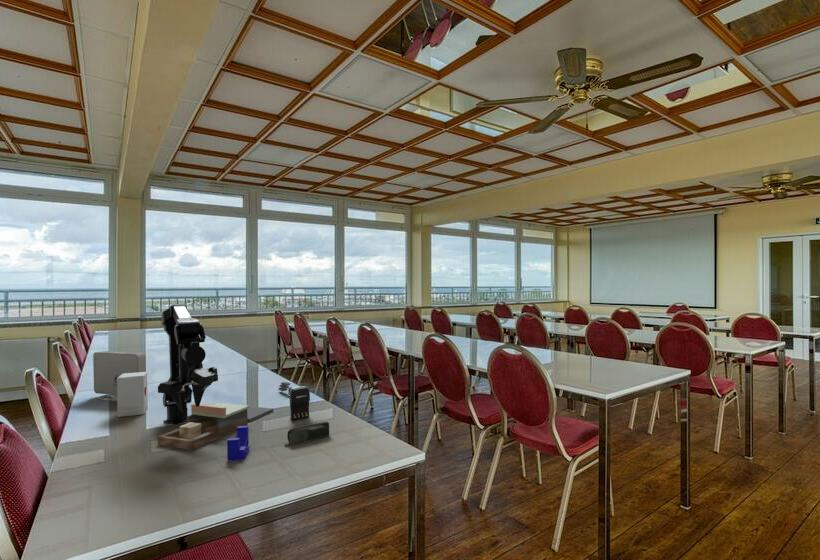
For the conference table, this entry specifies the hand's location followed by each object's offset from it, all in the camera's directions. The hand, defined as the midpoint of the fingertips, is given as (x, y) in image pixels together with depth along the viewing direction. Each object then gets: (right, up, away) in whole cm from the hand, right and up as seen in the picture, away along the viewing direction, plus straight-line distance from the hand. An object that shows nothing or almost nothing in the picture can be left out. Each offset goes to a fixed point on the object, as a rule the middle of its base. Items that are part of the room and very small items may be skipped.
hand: (190, 409), depth 142 cm
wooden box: (+2, -10, +6) cm, 12 cm away
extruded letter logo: (+19, -10, +50) cm, 55 cm away
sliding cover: (+5, -4, +12) cm, 14 cm away
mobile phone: (+38, -10, -2) cm, 39 cm away
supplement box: (-37, -11, +31) cm, 50 cm away
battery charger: (+30, -10, +20) cm, 38 cm away
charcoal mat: (+9, -10, +26) cm, 29 cm away
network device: (-57, -11, +54) cm, 79 cm away
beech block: (0, -10, 0) cm, 10 cm away
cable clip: (+20, -10, -10) cm, 25 cm away
